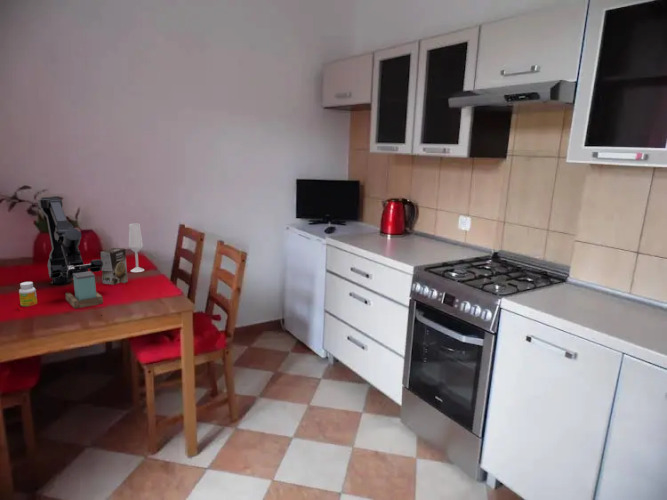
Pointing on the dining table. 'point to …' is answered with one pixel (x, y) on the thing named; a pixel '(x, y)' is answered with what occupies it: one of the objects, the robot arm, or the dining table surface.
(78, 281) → the grey teal box
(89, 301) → the walnut track
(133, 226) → the champagne flute
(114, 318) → the dining table surface
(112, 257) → the coffee box
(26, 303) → the supplement bottle
